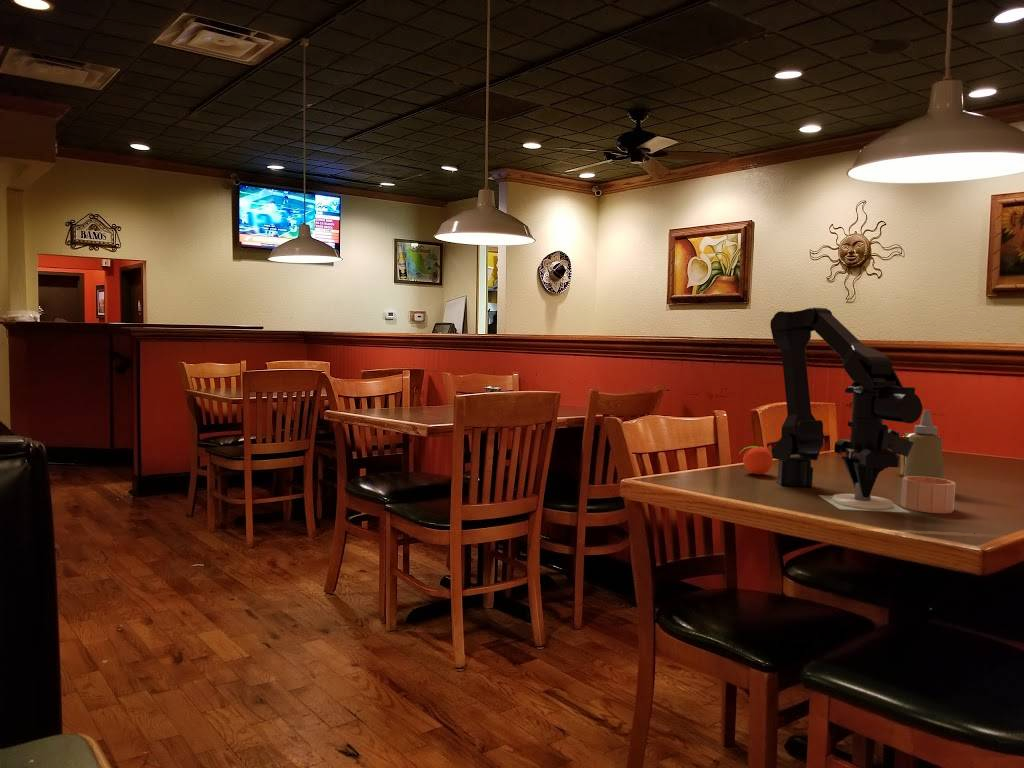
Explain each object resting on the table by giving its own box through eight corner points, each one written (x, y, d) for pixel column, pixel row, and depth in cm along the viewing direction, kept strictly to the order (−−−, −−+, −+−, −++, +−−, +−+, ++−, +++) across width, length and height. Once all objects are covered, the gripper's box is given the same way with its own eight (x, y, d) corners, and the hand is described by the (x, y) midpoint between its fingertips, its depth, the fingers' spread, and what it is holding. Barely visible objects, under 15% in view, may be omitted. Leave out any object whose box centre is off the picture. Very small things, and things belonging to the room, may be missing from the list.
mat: (839, 512, 148) (839, 508, 148) (818, 498, 161) (818, 495, 161) (909, 515, 147) (910, 512, 147) (882, 501, 160) (883, 498, 160)
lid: (843, 508, 149) (844, 487, 149) (825, 496, 160) (826, 477, 160) (902, 510, 148) (903, 490, 148) (879, 498, 159) (880, 479, 159)
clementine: (738, 475, 186) (740, 446, 185) (737, 470, 192) (738, 442, 192) (773, 478, 184) (775, 448, 183) (770, 473, 191) (772, 444, 190)
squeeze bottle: (928, 486, 180) (932, 408, 179) (951, 492, 172) (955, 411, 171) (895, 485, 179) (899, 408, 178) (916, 492, 171) (920, 411, 170)
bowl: (913, 514, 148) (915, 483, 148) (893, 504, 157) (895, 475, 157) (961, 516, 147) (964, 485, 147) (939, 506, 156) (941, 477, 156)
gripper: (931, 424, 143) (925, 507, 144) (890, 414, 162) (885, 488, 163) (869, 422, 144) (864, 504, 145) (835, 412, 163) (831, 485, 164)
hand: (862, 495), depth 154 cm, fingers closed on lid, 3 cm apart
